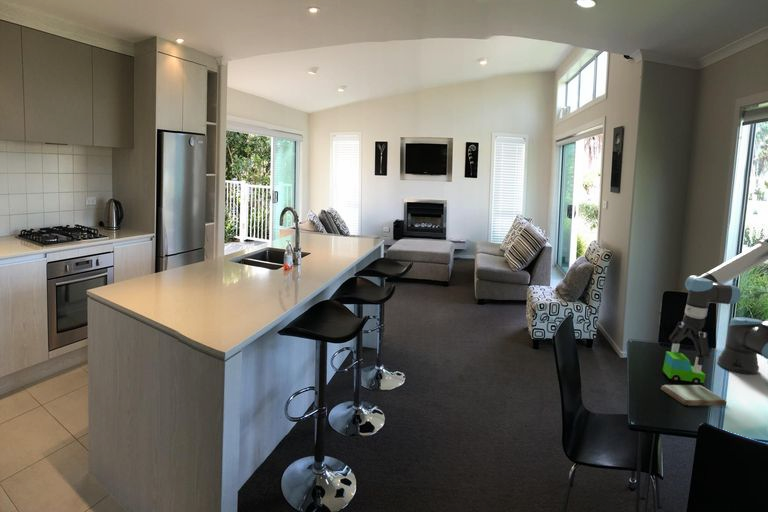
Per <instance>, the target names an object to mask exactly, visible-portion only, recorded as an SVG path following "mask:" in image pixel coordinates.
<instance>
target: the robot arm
mask: <svg viewBox="0 0 768 512" xmlns="http://www.w3.org/2000/svg"><path fill="white" fill-rule="evenodd" d="M767 261H768V235H767V236H765V237H763V238H761V239H759V240H757V241H756V242H755V245H754V246H751V247H749V248H748V249H746V250H744V251H742V252H741V253H739V254H737V255H735V256H734V257H732V258H730V259H728V260H726V261H724V262H723V263H721V264H718V266H716V267H714V268H712V269H710V270H709V271H707V272H705V273H703V274H700V275H696V274H695V275H694V274H693V275H690V276H688V277H687V279H686V280H685V282H684V286H685V288H686V290H687V291H688V293H687V298H686V305H685V309H684V315H683V319H682V321H678V322H677V323H676V324H677V325H676V327H675V328H674V330H673V331H672V332H671V334H670V335H669V337H668V339H669V341H671V347H670V349H671V351H670V352H677V353H679V351H680V346H681V344H680V342H681V341H682V340H684V339H685V338H686V337H687V338H689V339H690V340H691V341H692V342H693V344H694V347H695V350H696V354H697V356H695V361H694V365H693V366H694V369H693V372H701V371H702V366H703V365H704V362H705V359H707V358H708V359H709V358H710V357H711V355H710V348H709V347H710V346H709V343H708V341H709V340H708V335H709V334H708V332H703V331H702V329H703V328H704V327H705V324H706V318H707V315H708V310H709V305H710V304H720V305H721V304H722V305H735V304H737V303H739V302H740V300H741V298H742V297H741V296H742V292H741V290H740V288H739V287H738V286H736V285H731V284H726V283H728V282H730V281H732V280H733V279H735V278H737V277H739V276H741V275H743V274H745V273H747V272H748V271H750V270H752V269H754V268H755V267H758V266H760V265H761V264H763V263H765V262H767ZM726 335H727V336H726V342H725V345H724V348H723V350H722V352H721V353H720V356H718V358H717V360H716V361H717V362H716V363H717V365H718V366H720V367H722V369H725V370H728V371H731V372H735V373H739V374H743V375H757V374H759V369H760V366H759V363H758V362H759V361H758V355H759V356H761V357H763V358H764V359H766V360H768V317H767V318H766V320H761V319H757V318H751V317H742V316H739V317H737V316H735V317H732V318H731V320H730V322H729V325H728V330H727V334H726Z"/></svg>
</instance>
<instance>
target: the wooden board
mask: <svg viewBox="0 0 768 512" xmlns="http://www.w3.org/2000/svg"><path fill="white" fill-rule="evenodd" d="M660 390H661V391H663V392H664V393H665V394H667V395H669V396H670V397H671V398H673V399H675V400H676V401H677V402H679V403H681V405H683V404H684V405H688V406H727V401H726V400H725V398H722V397H721V396H719V394H716V393H714V392H713V391H711V390H710V389H708V388H707V387H706V386H703V385H701V384H697V385H696V384H664V385H661V387H660ZM684 405H683V406H684Z"/></svg>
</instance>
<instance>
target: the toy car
mask: <svg viewBox="0 0 768 512" xmlns="http://www.w3.org/2000/svg"><path fill="white" fill-rule="evenodd" d="M693 369H694V365H692V364H691V360H689V358H688V357H687V356H685V355H684V354H683V353H682V352H678V353H677V352H671V351H665V356H664V362H663V366H662V372H663V373H664V374H665V375H666V376H667V378H668V379H671V381H672V382H674V383H677V382H679V381H685V382H691V383H692V385H700V384H701V383H705V380H706V374H705V373H704V372H703V371H702V370H701V372H693Z"/></svg>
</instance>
